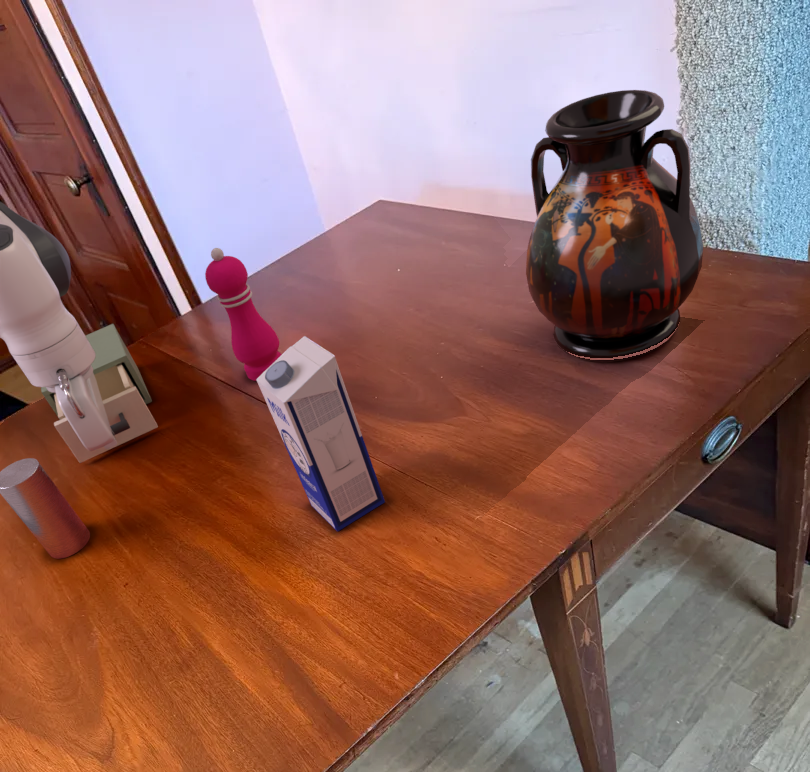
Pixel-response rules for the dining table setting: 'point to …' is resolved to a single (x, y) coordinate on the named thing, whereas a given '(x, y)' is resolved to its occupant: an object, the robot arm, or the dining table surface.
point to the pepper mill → (242, 314)
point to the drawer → (112, 412)
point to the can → (43, 508)
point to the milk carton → (321, 433)
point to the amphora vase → (612, 228)
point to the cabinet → (109, 360)
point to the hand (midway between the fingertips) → (110, 443)
